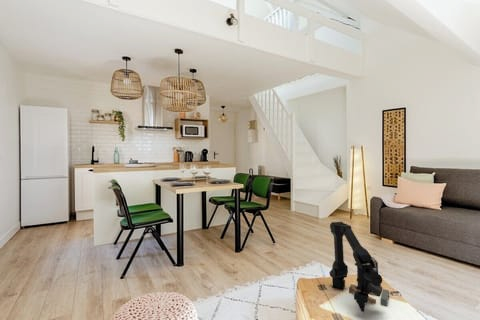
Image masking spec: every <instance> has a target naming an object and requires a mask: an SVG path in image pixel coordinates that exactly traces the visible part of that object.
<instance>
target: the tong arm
mask: <svg viewBox="0 0 480 320" xmlns="http://www.w3.org/2000/svg"><path fill="white" fill-rule="evenodd" d="M349 288H350V289H352V290H354V294H355V292H356V290H357V289H356V288H354V287H352V286H350V285H349V287H348V289H349ZM354 294H353V295H354ZM368 296H369V299H368V303H371V304H373V305H376V304H377V299H376V298H374V297H372V296H370V295H368Z"/></svg>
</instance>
